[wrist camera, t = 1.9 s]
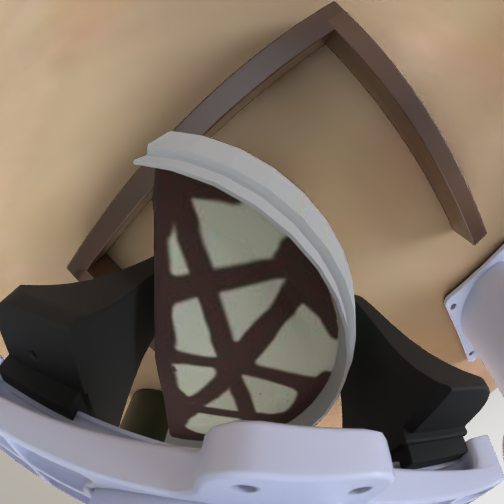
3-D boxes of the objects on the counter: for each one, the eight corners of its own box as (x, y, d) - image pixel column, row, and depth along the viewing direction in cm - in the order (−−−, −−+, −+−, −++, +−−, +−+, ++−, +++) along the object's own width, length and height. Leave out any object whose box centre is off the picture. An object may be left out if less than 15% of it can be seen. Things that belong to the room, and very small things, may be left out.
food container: (295, 338, 19) (302, 474, 10) (204, 325, 19) (163, 456, 10) (339, 148, 14) (444, 185, 5) (221, 129, 14) (134, 133, 5)
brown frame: (465, 219, 15) (487, 233, 12) (234, 381, 21) (230, 406, 19) (325, 18, 11) (334, 0, 9) (86, 251, 17) (65, 268, 15)
